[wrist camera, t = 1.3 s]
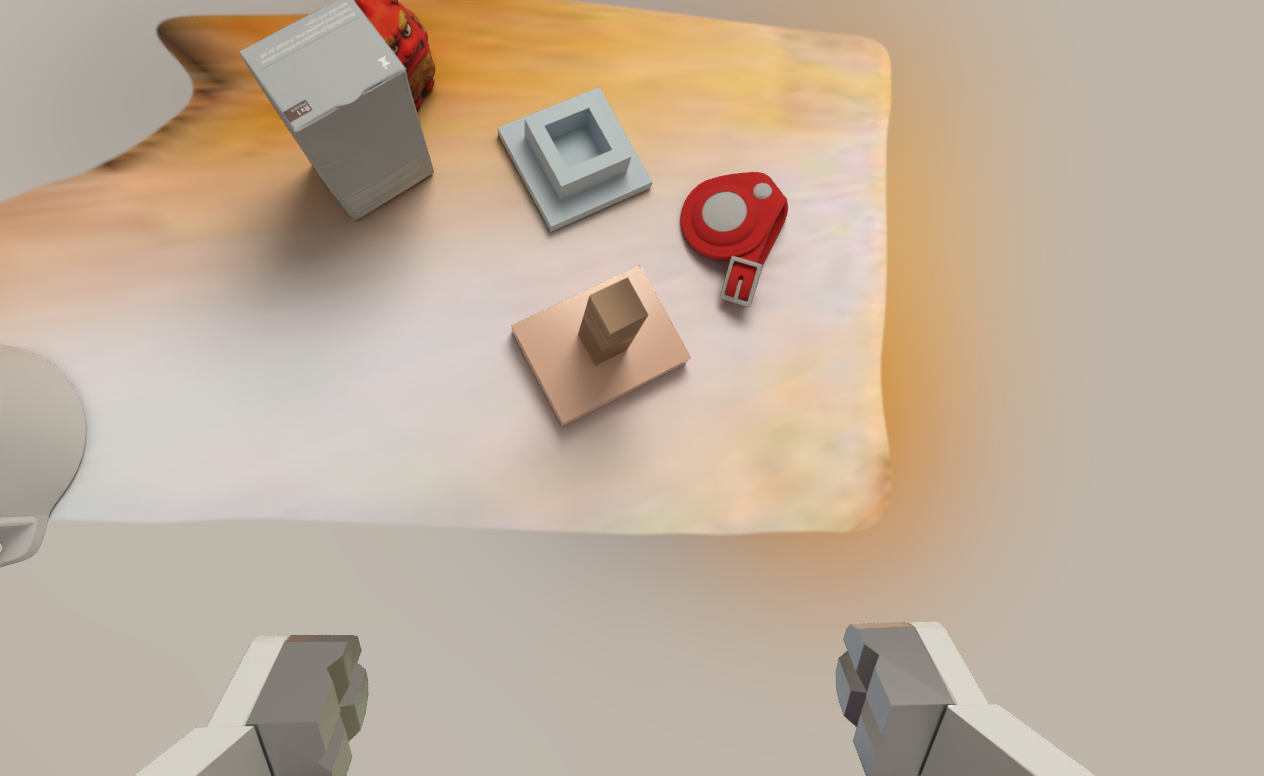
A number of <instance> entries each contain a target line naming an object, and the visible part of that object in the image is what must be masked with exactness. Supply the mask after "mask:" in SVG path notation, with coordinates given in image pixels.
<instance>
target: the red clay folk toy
mask: <svg viewBox="0 0 1264 776" xmlns="http://www.w3.org/2000/svg"><path fill="white" fill-rule="evenodd" d="M354 1H355V2H356V4H357V5H358V6H359V8H360V9H361V10H362V12H363V13H364V14H365V15H366V17H367V18H368V19H369V21H370V22H371V23H372V25H373V26H374V27H375V28H376V30H377V31H378V32H379V34H380V35H381V36H382V38H383V39H384V40H385V42H386V43H387V44H388V45H389V47H390V48H391V49H392V51H393V52H394V53H395V55H396V56H397V57H398V59H399V60H400V61H401V63H402V64H403V65H404V67H405V68H406V72H407V78H408V82H409V86H410V90H411V93H412V97H413V100H414V104H415V107H416V109H417V108H419V107H420V105H421V104H422V95H423V94H424V93H426V92H429V91H430V90H431V89H432V87H433V85H434V79H433V76H434V74H435V64H434V62H433V59H432V56H431V52H430V49H429V44H428V35H427V31H426V30H425V28H424V26H423V25H422V24H420V22H419V19H418V18H417V16H416V15H415V14H414V13H413V12H411V11H410V10H408V9H406V8H405V7H404V6H403V5H402V4H400V3H399V2H398V0H354Z"/></svg>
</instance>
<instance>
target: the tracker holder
mask: <svg viewBox="0 0 1264 776" xmlns="http://www.w3.org/2000/svg"><path fill="white" fill-rule="evenodd" d="M787 212H788V204H787V199H786V197H785V196H784V195H783V194H782V192H781V191H780V190H779V188H778V187H777V186H776V185H775V183H774V182H773V181H772V179H771V178H770V177H769V176H768V175H766V174H764V173H760V172H748V173H738V174H730V175H724V176H719V177H716V178H712V179H709V180H706V181H704V182H702V183H701V184H699V185H698V186H697V187H696V188H695V189H694V190H693V191H692V192H691V193H690V194H689V195H688V197H687V199H686V200H685V202H684V205H683V208H682V212H681V226H682V230H683V233H684V236H685V238H686V240H687V241H688V243H689V244H690V245H691V246H692V247H693V249H694V250H696V251H697V252H699V253H700V254H702V255H704V256H706V257H709V258H711V259H717V260H728V262H729V264H728V271H727V274H726V278H725V281H724V285H723V288H722V292H721V295H720V298H721V299H723V300H727V301H730V302H733V303H736V304H739V305H742V306H746V307H750V306H751V304H752V300H753V297H754V294H755V290H756V287H757V284H758V280H759V277H760V274H761V270H762V267H763V264H764V262H765V260H766V258H767V256H768V254H769V252H770V250H771V248H772V246H773V244H774V242H775V240H776V238H777V236H778V234H779V232H780V231H781V229H782V227H783V225H784V222H785V220H786V217H787Z"/></svg>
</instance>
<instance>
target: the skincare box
mask: <svg viewBox="0 0 1264 776" xmlns="http://www.w3.org/2000/svg"><path fill="white" fill-rule="evenodd" d="M239 53H240V55H241V57H242V58H243V60H244V62H245V63H246V65H247V66H248V68H249V69H250V71H251V73H252V74H253V76H254V77H255V79H256V80H257V82H258V84H259V85H260V87H261V88H262V90H263V91H264V93H265V94H266V96H267V98H268V99H269V101H270V102H271V104H272V105H273V107H274V108H275V110H276V111H277V113H278V114H279V116H280V118H281V119H282V121H283V122H284V124H285V125H286V127H287V128H288V130H289V131H290V133H291V134H292V136H293V137H294V139H295V140H296V142H297V143H298V144H299V146H300V147H301V149H302V150H303V152H304V153H305V155H306V156H307V158H308V159H309V161H310V163H311V164H312V166H313V167H314V169H315V170H316V172H317V173H318V175H319V176H320V178H321V179H322V180H323V182H324V183H325V184H326V186H327V187H328V188H329V190H330V191H331V192H332V194H333V195H334V196H335V198H336V199H337V200H338V201H339V203H340V204H341V205H342V207H343V208H344V209H345V210H346V212H347V213H348V214H349V216H350V217H351V218H352V219H353V221H357V220H358V219H360V218H362V217H363V216H365V215H366V214H368V213H370V212H371V211H373V210H375V209H376V208H378V207H379V206H381V205H383V204H384V203H386V202H387V201H389V200H391V199H392V198H394V197H396V196H397V195H399V194H401V193H402V192H404V191H405V190H407V189H409V188H410V187H412V186H414V185H415V184H417V183H418V182H420V181H422V180H423V179H425V178H426V177H428V176H430V175H431V174H433V173H434V171H433V166H432V163H431V159H430V156H429V152H428V149H427V146H426V142H425V139H424V135H423V132H422V128H421V125H420V121H419V118H418V114H417V111H416V107H415V104H414V100H413V97H412V93H411V90H410V86H409V82H408V78H407V72H406V68H405V67H404V65H403V64H402V63H401V61H400V60H399V59H398V57H397V56H396V55H395V53H394V52H393V51H392V49H391V48H390V47H389V45H388V44H387V43H386V42H385V40H384V39H383V38H382V36H381V35H380V34H379V32H378V31H377V30H376V28H375V27H374V26H373V25H372V23H371V22H370V21H369V19H368V18H367V17H366V15H365V14H364V13H363V12H362V10H361V9H360V8H359V6H358V5H357V4H356V2H355V1H354V0H337V1H335V2H333V3H331V4H329V5H327V6H325V7H323V8H322V9H320V10H318V11H316V12H314V13H312V14H310V15H308V16H306V17H304V18H302V19H300V20H298V21H296V22H294V23H292V24H290V25H288V26H286V27H285V28H283V29H281V30H279V31H277V32H275V33H273V34H271V35H269V36H268V37H266V38H264V39H262V40H260V41H258V42H256V43H254V44H252V45H250V46H249V47H247V48H245V49H243V50H241V51H239Z"/></svg>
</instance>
